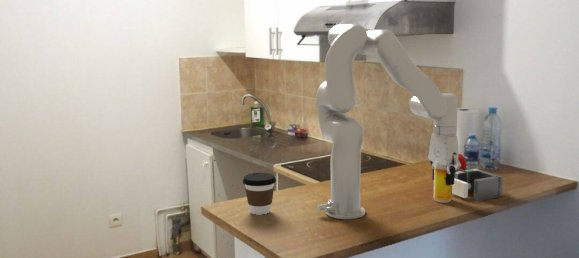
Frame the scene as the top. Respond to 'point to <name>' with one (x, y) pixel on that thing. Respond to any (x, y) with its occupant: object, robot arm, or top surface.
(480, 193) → the gauge frame
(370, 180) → the top surface
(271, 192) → the coffee cup
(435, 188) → the beer can
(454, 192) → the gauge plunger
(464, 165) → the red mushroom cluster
